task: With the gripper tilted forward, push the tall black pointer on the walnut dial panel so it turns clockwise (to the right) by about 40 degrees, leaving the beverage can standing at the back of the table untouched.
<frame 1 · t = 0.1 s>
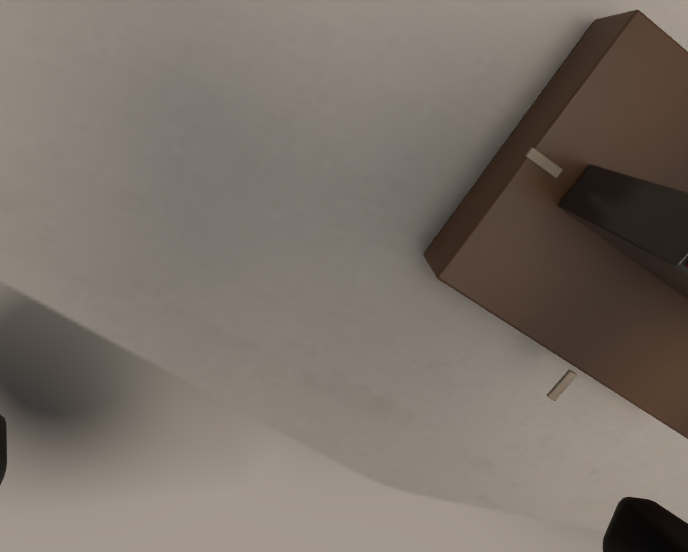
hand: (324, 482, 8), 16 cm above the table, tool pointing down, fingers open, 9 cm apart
dial panel: (629, 236, 24), on the table
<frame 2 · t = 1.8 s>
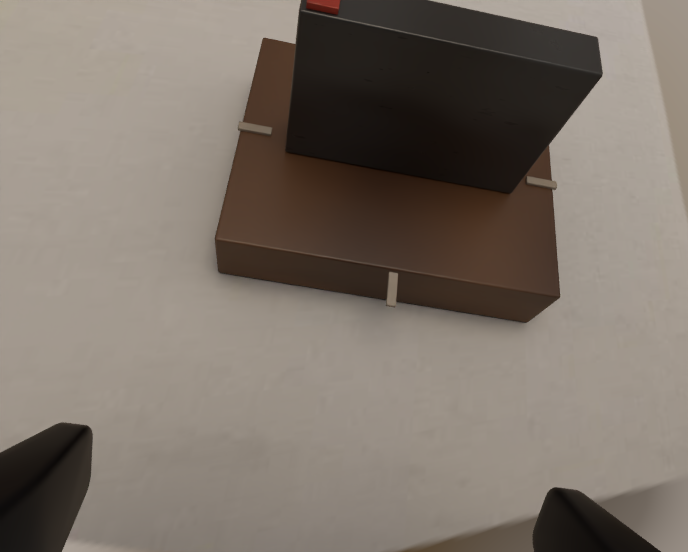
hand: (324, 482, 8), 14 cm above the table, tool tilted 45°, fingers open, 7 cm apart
dial panel: (385, 195, 27), on the table
pointer: (425, 98, 21), point 7 cm above the table, hinge at 0.0°
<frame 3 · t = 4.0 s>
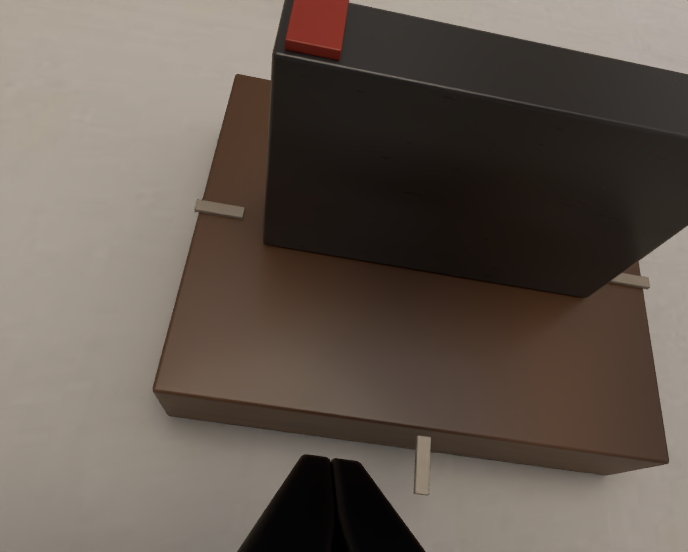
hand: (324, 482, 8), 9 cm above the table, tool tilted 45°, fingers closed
dial panel: (405, 287, 20), on the table
pointer: (473, 176, 14), point 7 cm above the table, hinge at 0.0°
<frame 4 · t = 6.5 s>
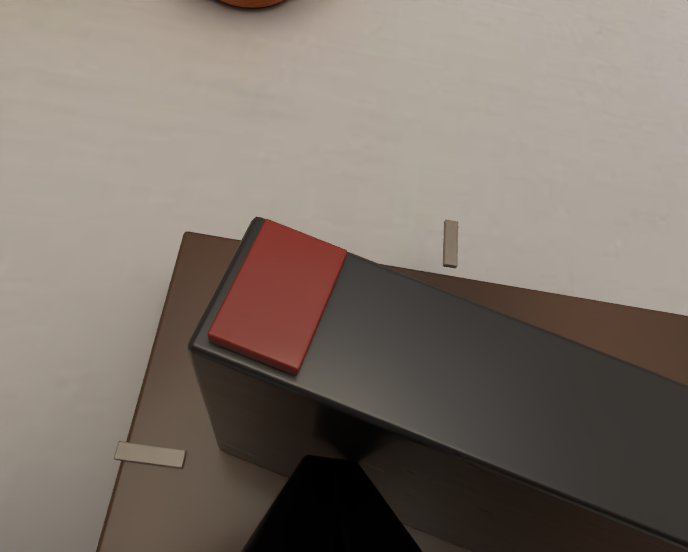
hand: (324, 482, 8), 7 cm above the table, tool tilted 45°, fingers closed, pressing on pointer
dial panel: (408, 502, 15), on the table
pointer: (514, 476, 9), point 7 cm above the table, hinge at -13.7°, touching gripper
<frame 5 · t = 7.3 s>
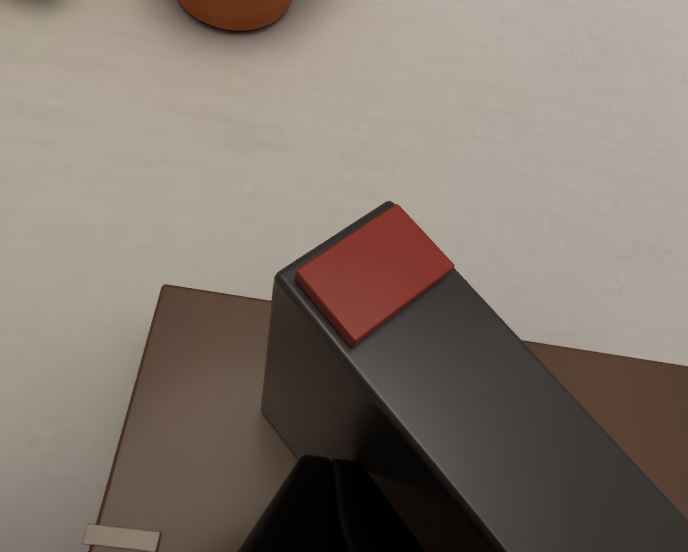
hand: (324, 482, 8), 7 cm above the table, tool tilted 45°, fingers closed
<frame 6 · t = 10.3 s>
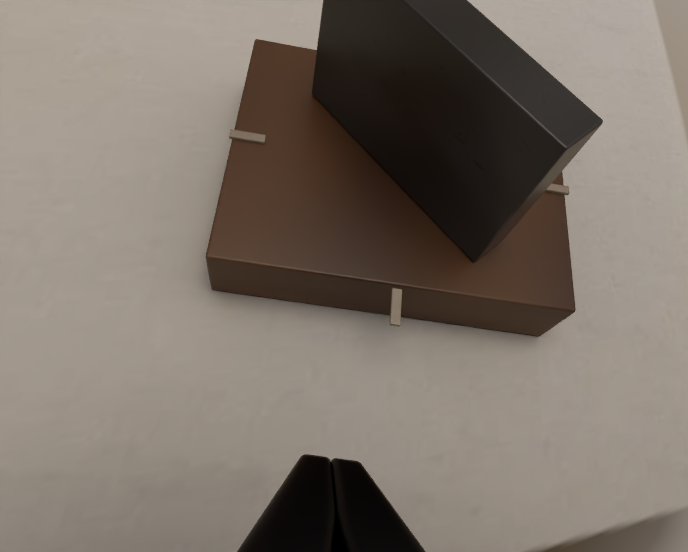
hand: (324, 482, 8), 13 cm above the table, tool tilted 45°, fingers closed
dial panel: (387, 203, 25), on the table
pointer: (428, 101, 19), point 7 cm above the table, hinge at -44.3°
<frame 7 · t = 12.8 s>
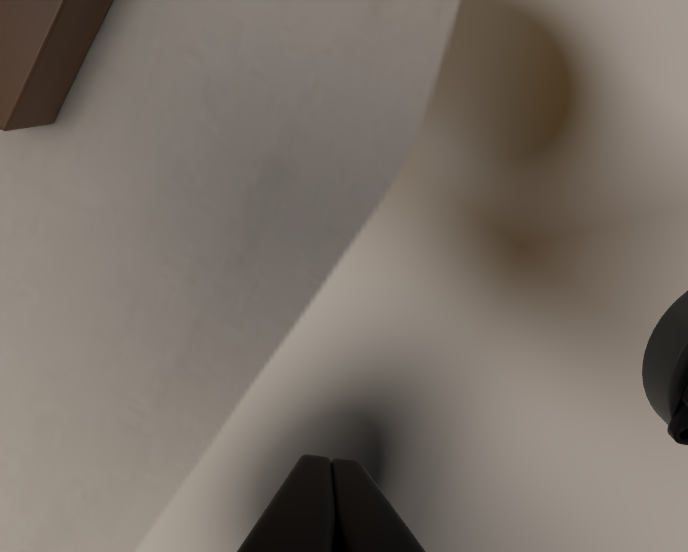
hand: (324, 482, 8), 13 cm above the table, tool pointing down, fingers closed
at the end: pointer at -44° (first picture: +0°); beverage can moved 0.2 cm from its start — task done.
